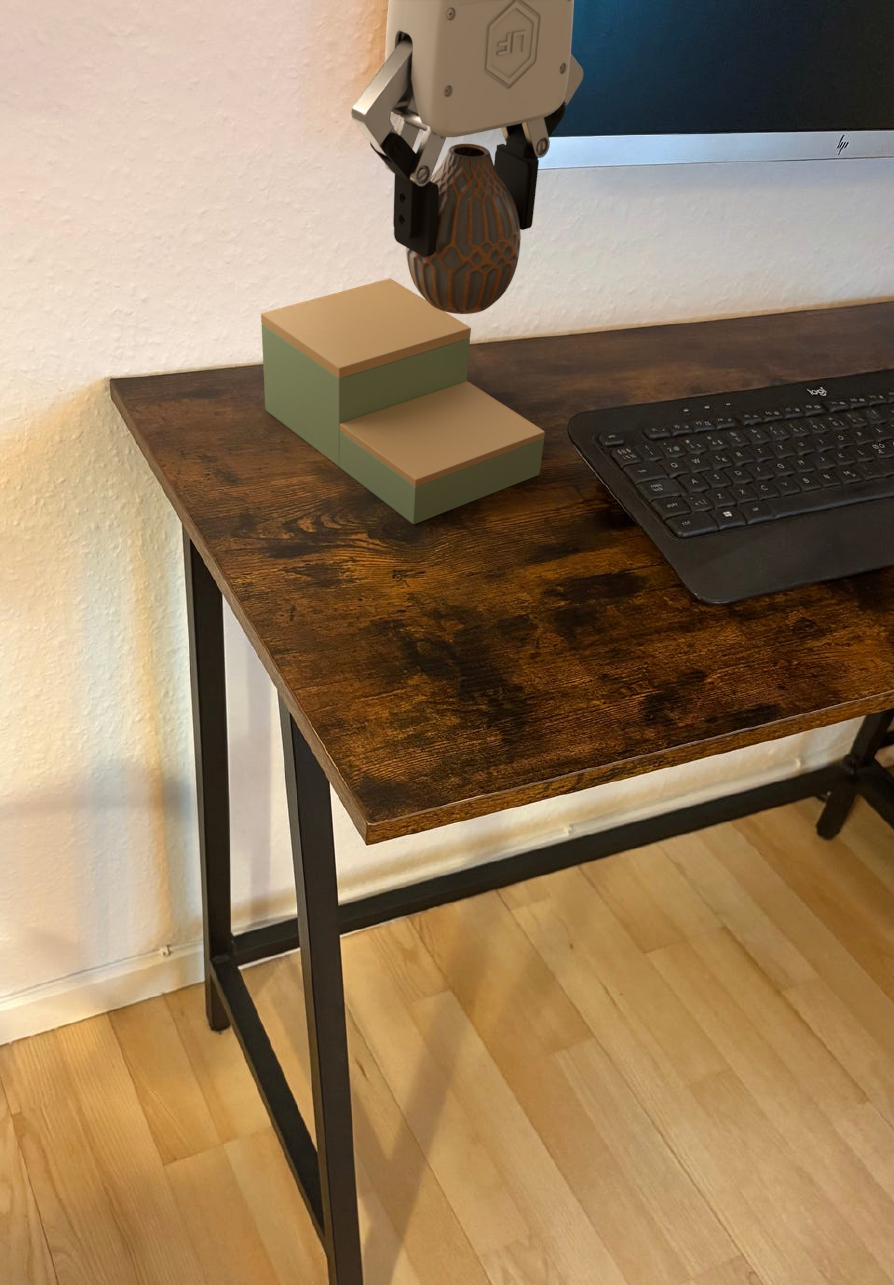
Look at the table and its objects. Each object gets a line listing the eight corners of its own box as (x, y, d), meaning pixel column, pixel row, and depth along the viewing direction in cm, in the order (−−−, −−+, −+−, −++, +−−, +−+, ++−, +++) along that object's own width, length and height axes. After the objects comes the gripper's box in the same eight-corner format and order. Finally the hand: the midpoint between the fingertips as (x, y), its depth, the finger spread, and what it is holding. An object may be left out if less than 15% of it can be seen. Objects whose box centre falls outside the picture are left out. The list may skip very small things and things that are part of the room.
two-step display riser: (539, 475, 92) (552, 377, 87) (413, 524, 87) (418, 424, 81) (387, 371, 102) (390, 278, 96) (264, 410, 96) (260, 313, 91)
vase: (461, 268, 80) (470, 122, 74) (536, 306, 77) (554, 156, 71) (381, 295, 77) (384, 144, 70) (457, 336, 73) (467, 181, 67)
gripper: (397, -103, 55) (387, 291, 68) (662, -128, 63) (609, 227, 76) (300, -135, 59) (308, 243, 72) (563, -155, 67) (528, 187, 80)
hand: (463, 232), depth 74 cm, fingers closed on vase, 6 cm apart
